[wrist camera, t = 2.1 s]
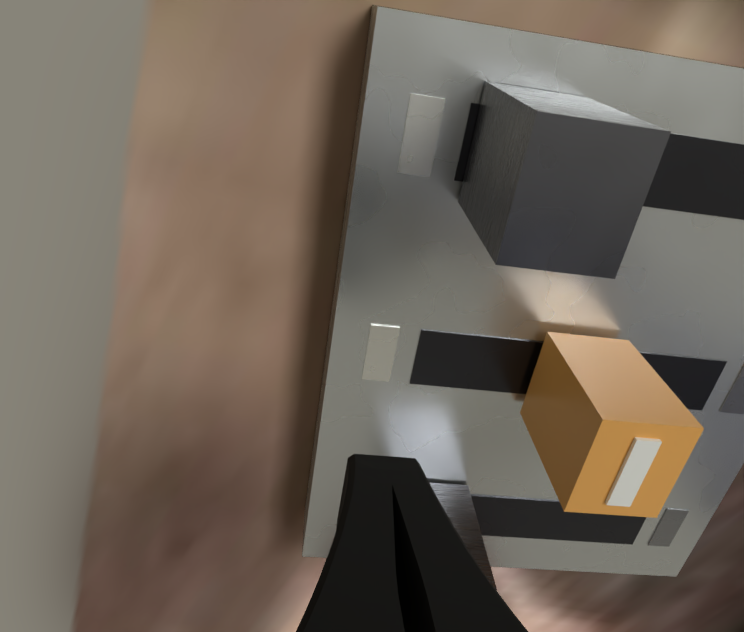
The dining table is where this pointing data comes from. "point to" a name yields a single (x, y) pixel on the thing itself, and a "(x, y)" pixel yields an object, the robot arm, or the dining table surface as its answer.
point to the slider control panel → (531, 276)
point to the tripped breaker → (606, 426)
